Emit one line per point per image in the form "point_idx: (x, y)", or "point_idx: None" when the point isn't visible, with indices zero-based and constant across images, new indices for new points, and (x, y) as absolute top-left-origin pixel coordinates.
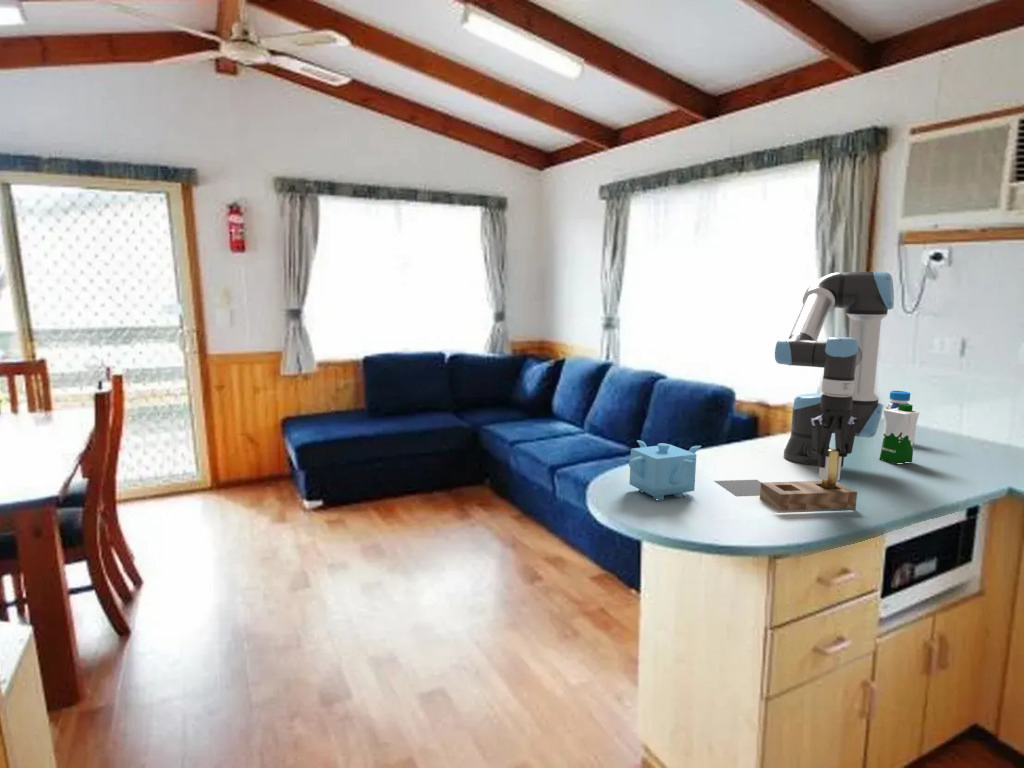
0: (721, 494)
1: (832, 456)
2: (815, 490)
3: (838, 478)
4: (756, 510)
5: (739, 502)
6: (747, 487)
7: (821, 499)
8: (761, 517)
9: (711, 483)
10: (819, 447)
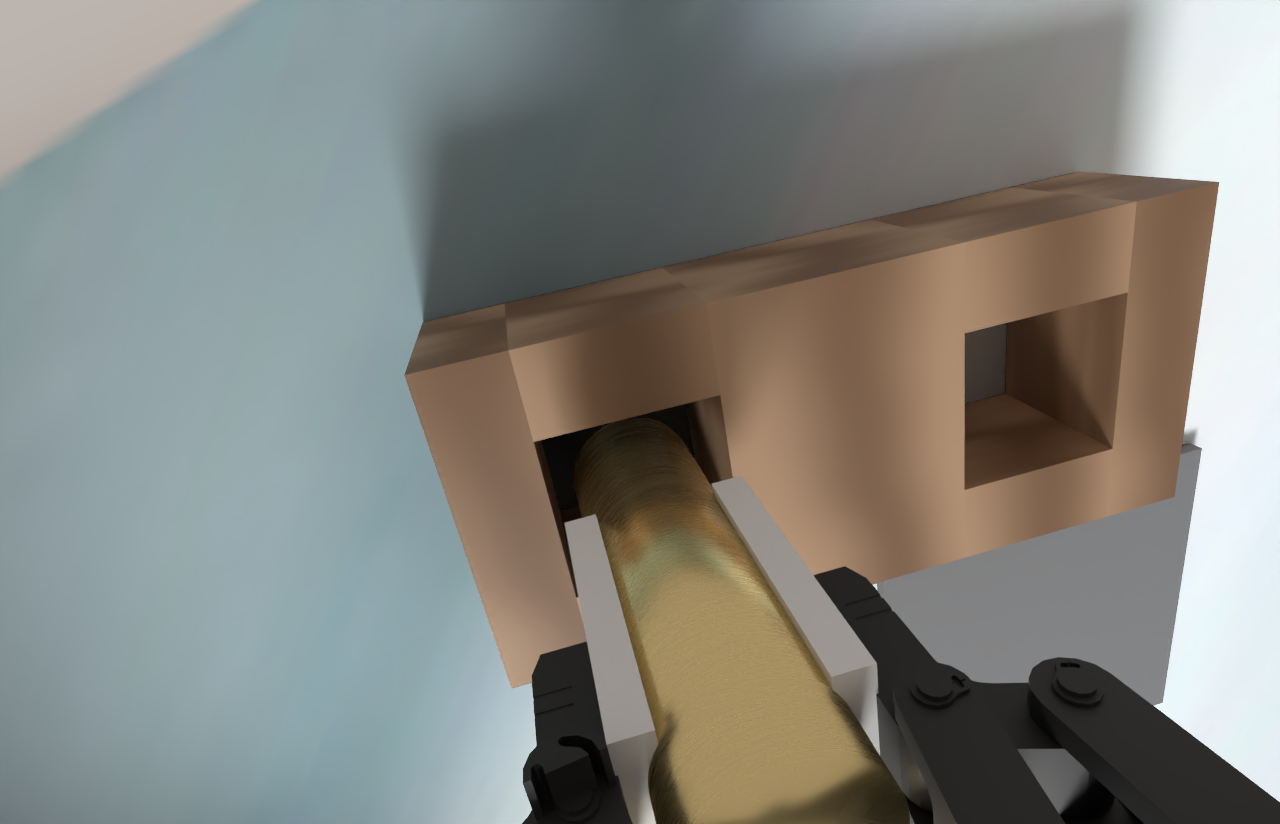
0: (1235, 494)
1: (798, 685)
2: (832, 355)
3: (580, 527)
4: None
5: (1219, 357)
6: (1034, 631)
7: (782, 266)
8: (1265, 39)
9: (1174, 676)
10: (1168, 765)
